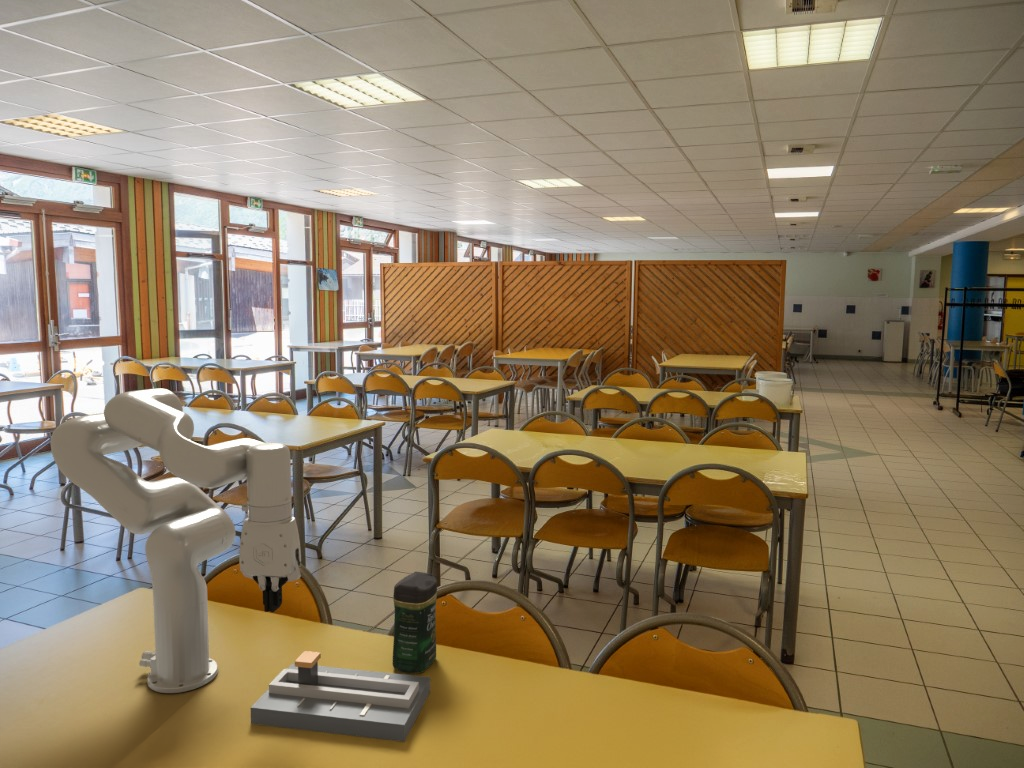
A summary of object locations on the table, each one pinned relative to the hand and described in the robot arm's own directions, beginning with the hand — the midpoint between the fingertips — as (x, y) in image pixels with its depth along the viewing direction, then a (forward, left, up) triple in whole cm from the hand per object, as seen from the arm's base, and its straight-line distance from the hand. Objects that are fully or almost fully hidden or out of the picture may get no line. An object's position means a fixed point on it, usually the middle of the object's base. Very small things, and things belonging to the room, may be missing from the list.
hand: (272, 608), depth 131 cm
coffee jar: (+22, +18, -18) cm, 33 cm away
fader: (+7, 0, -15) cm, 16 cm away
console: (+14, 0, -18) cm, 22 cm away
